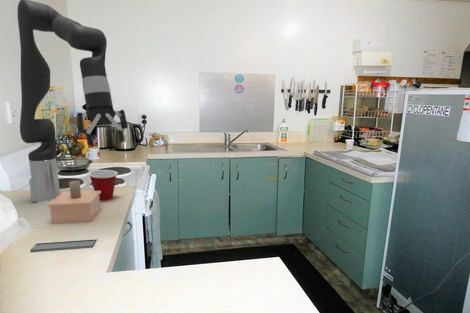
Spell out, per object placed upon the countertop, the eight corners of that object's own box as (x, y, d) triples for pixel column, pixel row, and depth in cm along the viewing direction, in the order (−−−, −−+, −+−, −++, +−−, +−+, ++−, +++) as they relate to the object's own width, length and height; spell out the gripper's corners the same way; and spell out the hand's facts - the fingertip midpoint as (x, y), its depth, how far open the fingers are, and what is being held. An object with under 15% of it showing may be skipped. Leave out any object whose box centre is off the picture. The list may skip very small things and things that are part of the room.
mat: (30, 251, 82) (30, 249, 82) (51, 230, 96) (51, 228, 96) (92, 247, 85) (92, 245, 85) (104, 226, 99) (104, 225, 98)
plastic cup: (109, 206, 117) (107, 176, 115) (85, 204, 119) (82, 174, 117) (124, 197, 128) (122, 170, 126) (102, 195, 130) (99, 168, 128)
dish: (52, 226, 99) (49, 206, 97) (65, 212, 110) (64, 194, 109) (91, 224, 101) (89, 204, 99) (100, 211, 112) (99, 193, 111)
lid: (47, 206, 97) (45, 188, 95) (63, 194, 109) (61, 177, 108) (90, 204, 99) (88, 186, 98) (100, 192, 111) (99, 176, 110)
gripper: (117, 94, 100) (125, 142, 101) (69, 96, 92) (79, 148, 93) (124, 89, 94) (133, 141, 95) (74, 91, 86) (84, 147, 87)
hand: (106, 144), depth 94 cm, fingers open, 8 cm apart
